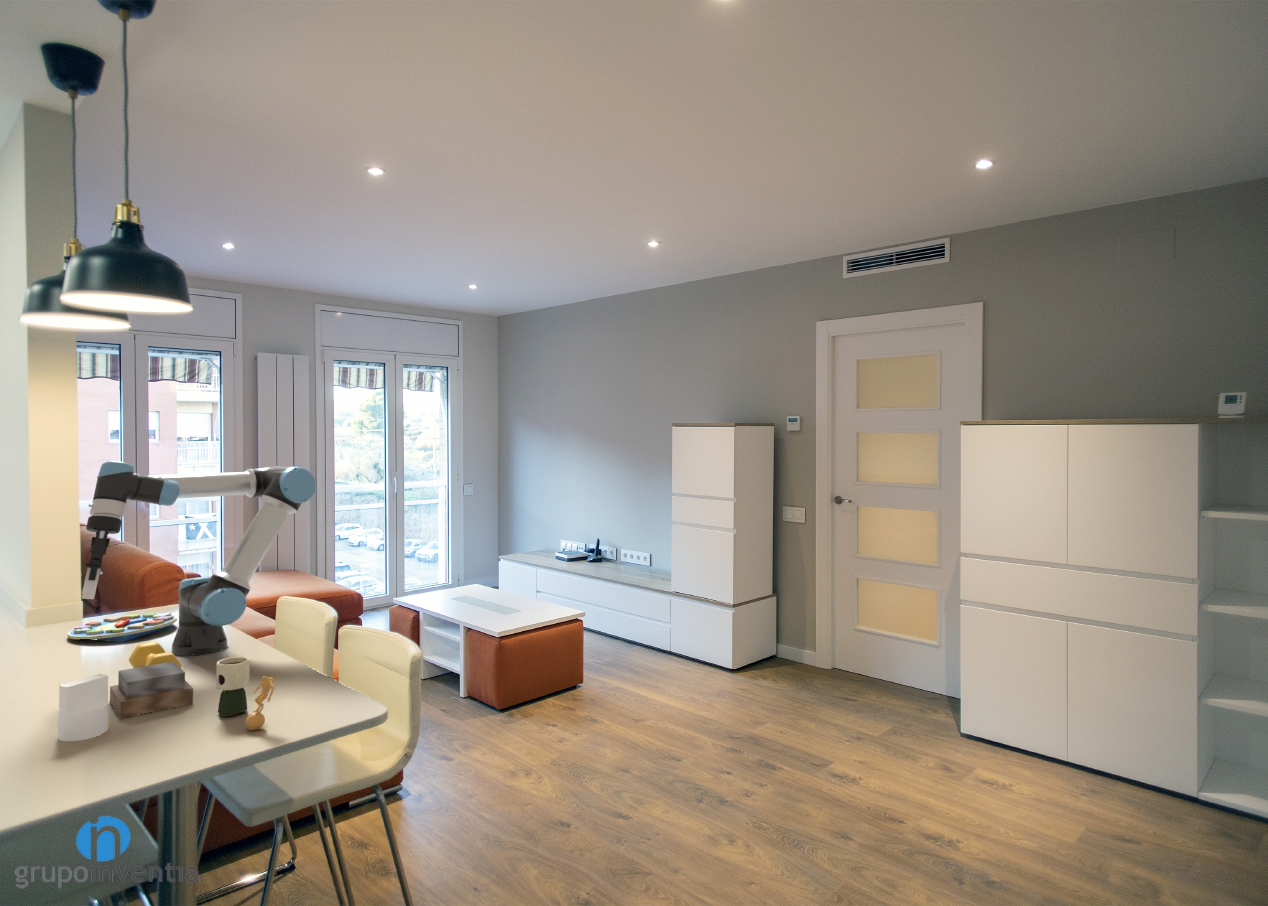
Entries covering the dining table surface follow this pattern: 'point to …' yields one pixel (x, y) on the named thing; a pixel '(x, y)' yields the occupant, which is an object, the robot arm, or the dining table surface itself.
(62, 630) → the dining table surface
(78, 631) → the shape sorting clock
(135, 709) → the grey and brown block
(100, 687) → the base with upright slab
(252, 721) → the figurine
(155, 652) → the dumbbell
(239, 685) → the character mug
